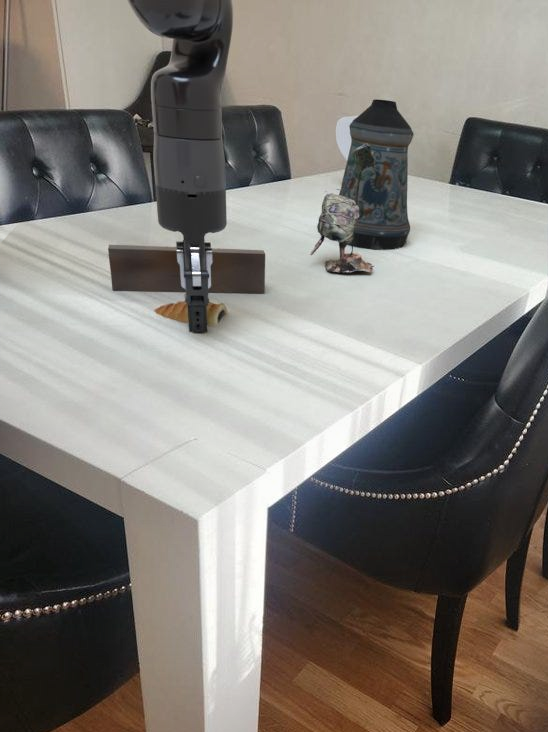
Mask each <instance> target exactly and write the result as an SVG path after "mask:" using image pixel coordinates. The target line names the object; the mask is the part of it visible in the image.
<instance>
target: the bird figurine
mask: <svg viewBox="0 0 548 732" xmlns="http://www.w3.org/2000/svg"><path fill="white" fill-rule="evenodd" d="M354 158H355V162H356V166H357V168H359V173H358V182H357V183H358V185H357V189H356V203H355V201H354V200H351V199H350V198H346V197H344V196H341V195H339V194H338V193H336V192H332V193H328V191H327V190H325V193H327V194H325V196H324V198H323V200H322V203H321V212H320V215H319V217H318V223H317V226H316V228H317V232H318V233H319V235H320V238H319V240H318V241H317V242H316V244H315V245H314V248H313V249H312V250H311V251H310V253H309V255H310V256H313V255H314V254H315V253H316V252H317V250H318V249H319V248H320V246H322V244H323V243H324V241H325V238H326V239H328V240H330V241H332V242H337V243H338V247H339V259H335V260H334V259H329V260H325V262H324V269H325V270H326V271H329V272H332V273H341V274H342V273H353V272H357V271H358V272H361V271H363V272H366V273H367V272H368V273H372V272H373V271H374V267H375V265H373V264H372V263H370V262H368V261H367V262H366V261H365V260H363V259H362V254H358V253H355V252H353V251H354V246H353V240H354V231H355V226H356V223H357V220H358V218H359V207H358V192H359V183H360V179H361V174H362V169H365V168H366V167H372V168H373V170H374V171H376V168H375V165H374V162H375V158H374V154H373V152H372V149H371V147H370V145H369V144H367V143H366V144H365V145H363V146H360V147H358V148H357V149H355V150H354ZM351 242H352V246H351V252H350V253H349V252H348V253H345V251H346V248H347V246H349V245H348V244H349V243H351Z"/></svg>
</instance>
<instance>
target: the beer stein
mask: <svg viewBox="0 0 548 732" xmlns="http://www.w3.org/2000/svg"><path fill="white" fill-rule="evenodd" d="M357 116H358V117H357V118H355V119H354V120H353V121H352V123H351V124H350V126H349V128H350V135H351V147H350V151H349V155H348V160H346V164H345V169H344V173H343V176H342V181H341V186H340V188H341V189H340V190H339V194H338V195H341V196H344V197H346V198H350V199H351V200H354V201H355V203H356V189H357V185H358V183H357V182H358V173H359V168H357V166H356V162H355V158H354V150H355V149H357V148H358V147H360V146H363V145H365V144H366V143H367V144H369V145H370V147H371V149H372V152H373V154H374V158H375V162H374V165H375V168H376V171H374V170H373V168H372V167H366V168H365V169H362V174H361V179H360V183H359V192H358V207H359V218H358V220H357V223H356V226H355V231H354V240H353V247H355V248H361V249H366V250H367V249H368V250H374V251H376V250H377V251H378V250H379V251H380V250H381V249H383V250H396V249H400V248H403V246H404V247H405V245H406V243H407V239H408V237H409V235H410V232H411V225H410V221H409V215H408V177H409V176H408V174H409V173H408V169H409V167H408V166H409V164H408V163H409V162H408V160H409V158H408V157H409V155H408V151H409V146H410V144H412V141H413V138H414V136H415V135H414V134H415V133H414V131H413V129H412V127H411V125H409V123H408V121H407V120H406V119H405V118H404V116H403V114H401V113H400V111H399V110H398V106H397V101H394V100H387V99H372V102H371V104H370V105H369V106H368V107H367V108H366V109H365V110H364V111H362V112H361V113H360V114H359V115H357ZM347 246H351V247H352V242H351V243H349V244H348V245H347ZM399 247H400V248H399ZM395 248H396V249H395Z"/></svg>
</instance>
